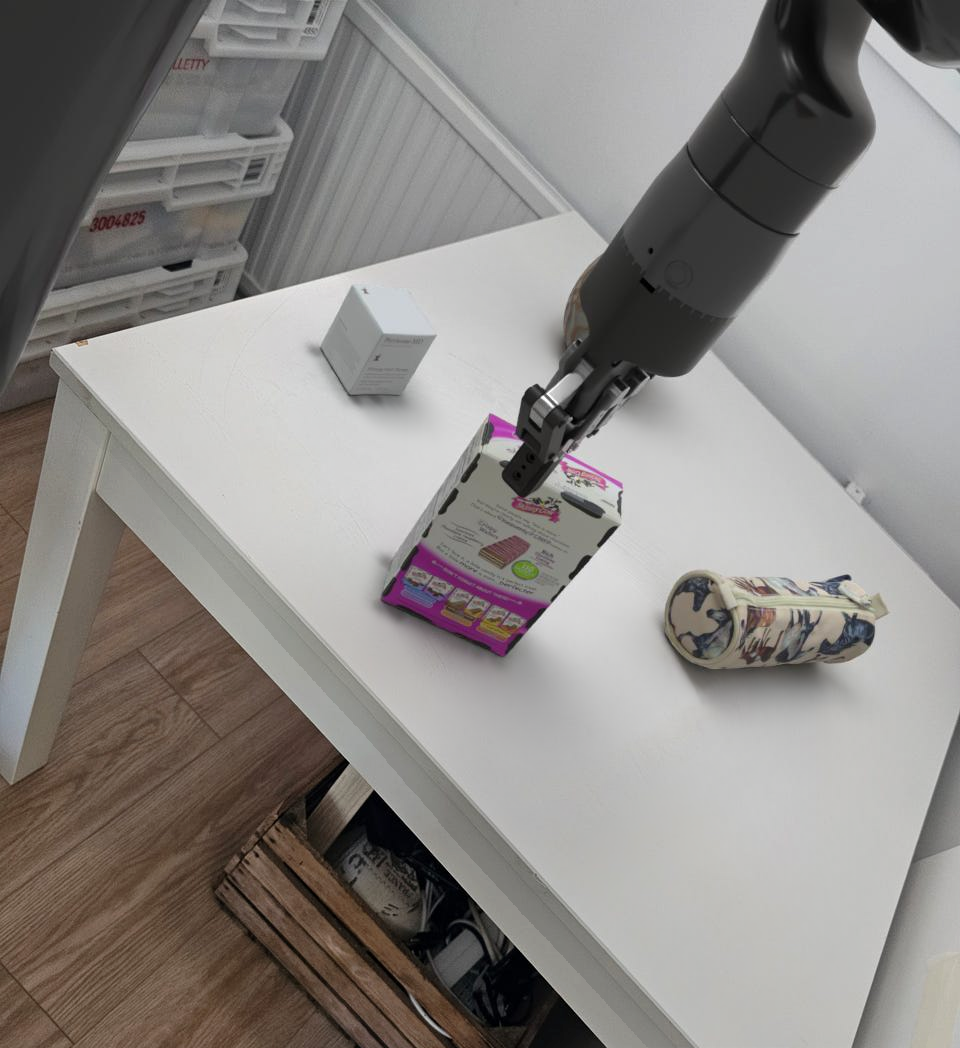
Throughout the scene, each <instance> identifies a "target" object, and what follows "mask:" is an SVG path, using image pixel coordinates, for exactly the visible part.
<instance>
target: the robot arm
mask: <svg viewBox="0 0 960 1048" xmlns="http://www.w3.org/2000/svg"><path fill="white" fill-rule="evenodd" d="M211 2H212V0H0V398H1V397H2V395H3V393H4V392H5V391H6V389H7V386H8V384H9V382H10V380H11V378H12V376H13V374H14V372H15V371H16V368H17V366H18V364H19V362H20V360H21V358H22V356H23V353H24V351H25V349H26V347H27V344H28V343H29V341H30V337H31V335H32V334H33V332H34V330H35V327H36V325H37V322H38V321H39V319H40V316H41V314H42V312H43V310H44V308H45V305H46V303H47V301H48V299H49V296H50V294H51V292H52V290H53V288H54V286H55V283H56V281H57V280H58V277H59V275H60V272H61V270H62V268H63V266H64V263H65V262H66V260H67V257H68V255H69V253H70V251H71V248H72V247H73V244H74V242H75V240H76V238H77V236H78V233H79V232H80V229H81V227H82V225H83V223H84V221H85V219H86V217H87V215H88V212H89V210H90V209H91V208H92V204H94V201H95V199H96V197H97V195H98V194H99V192H100V190H101V188H102V187H103V184H104V182H105V180H106V179H107V177H108V176H109V175H108V174H109V173H110V171H111V169H112V168H113V166H114V165H115V163H116V161H117V160H118V158H119V156H120V154H121V153H122V151H123V149H124V148H125V145H126V144H127V143H128V141H129V140H130V138H131V136H132V134H133V133H134V131H136V128H137V126H138V125H139V124H140V122H141V120H142V118H143V116H144V115H145V113H146V112H147V110H148V109H149V107H150V105H151V103H152V102H153V100H154V99H155V97H156V95H157V94H158V92H159V90H160V89H161V87H162V85H163V83H164V82H165V80H166V78H167V77H168V75H170V72H171V71H172V69H173V67H174V65H175V64H176V62H177V60H178V58H179V57H180V55H181V54H182V52H183V50H184V49H185V48H186V45H187V43H188V41H189V40H190V39H191V36H192V34H193V33H194V31H195V30H196V27H197V26H198V24H199V22H200V21H201V19H202V17H203V15H205V12H206V11H207V9H208V7H209V6H210V4H211ZM873 20H874V21H875V22H876V23H877V24H878V25H879V26H880V27H881V28H882V29H883V31H884V32H885V33H886V34H887V35H888V36H889V38H891V39H892V41H893V42H894V43H895V44H896V45H897V46H898V47H899V48H900V49H901V50H902V51H903V52H904V53H906V54H907V55H909V56H910V57H911V58H912V59H914V60H916V61H917V62H918V63H922V64H924V65H926V66H928V67H932V68H935V69H941V70H957V69H960V0H766V1H765V3H764V5H763V8H762V10H761V12H760V14H759V17H758V20H757V23H756V25H755V28H754V31H753V33H752V36H751V39H750V42H749V43H748V47H747V49H746V52H745V54H744V57H743V58H742V61H741V62H740V65H739V66H738V69H736V71H735V72H734V74H733V76H732V77H731V78H730V80H729V81H728V82H727V84H726V85H725V86H724V87H723V89H722V90H721V91H720V93H719V94H718V96H717V97H716V99H715V100H714V102H713V103H712V105H711V106H709V107H710V108H709V109H708V110H707V111H706V113H705V114H704V115H703V117H702V119H701V120H700V122H699V123H698V125H697V126H696V127H695V129H694V131H693V132H692V133H691V135H690V136H689V138H688V140H687V141H686V142H685V143H684V144H683V146H682V147H681V149H680V150H679V151H678V152H677V153H676V154H675V156H673V158H672V159H670V161H669V162H668V163H667V164H666V165H665V167H663V169H662V170H660V172H659V173H658V174H657V176H656V177H655V178H654V179H653V180H652V182H651V184H650V185H649V186H648V188H647V189H646V191H645V192H644V193H643V195H642V196H641V198H640V199H639V201H638V202H637V204H636V205H635V206H634V208H633V209H632V211H631V212H630V214H629V216H627V218H626V219H625V221H624V223H623V224H622V226H621V227H620V229H619V230H618V231H617V232H616V233H615V236H614V237H613V239H611V241H610V243H609V245H608V246H607V247H606V249H605V250H604V251H603V253H602V254H603V255H602V256H601V257H600V259H599V260H598V262H597V263H596V265H595V266H594V268H593V269H592V270H591V272H590V273H589V275H588V276H587V278H586V279H585V281H584V282H583V284H582V286H581V290H580V304H581V308H582V311H583V313H584V314H585V317H586V320H587V323H588V327H589V335H588V338H586V339H584V341H582V340H581V339H580V338H578V339H576V340H575V341H574V342H573V343H572V344H571V345H570V346H569V347H568V348H567V347H566V350H565V351H564V352H563V354H562V356H561V357H560V359H559V361H558V369H557V370H556V372H555V374H554V375H553V376H552V378H551V379H550V381H549V382H548V384H547V385H546V386H545V388H544V387H543V386H541V385H540V384H539V383H534V384H532V385H531V386H529V387H528V388H526V390H525V391H524V393H523V395H522V397H521V399H520V405H519V409H518V415H517V420H516V425H515V426H516V431H515V435H516V436H517V437H518V438H519V439H520V440H522V441H523V442H524V443H523V444H522V445H521V447H520V448H519V449H518V451H517V452H516V453H515V455H514V456H513V458H512V459H511V460H510V462H509V463H508V464H507V466H506V467H505V468H504V470H503V471H502V479H503V480H504V482H505V483H506V484H507V485H508V486H509V487H510V488H511V489H512V490H513V491H514V492H515V493H516V494H517V495H518V496H519V497H522V498H525V497H527V496H528V495H530V494H532V493H533V492H535V491H537V490H538V489H539V488H540V487H541V486H542V484H543V483H544V482H545V481H546V479H547V478H548V477H549V475H550V474H551V473H552V472H553V470H554V469H555V468H556V467H557V465H558V464H559V463H560V462H561V460H562V459H563V458H564V456H565V455H566V453H567V454H569V455H570V454H571V453H572V452H575V451H577V450H578V448H579V447H580V446H581V445H580V444H581V443H582V442H583V440H584V439H585V438H586V439H590V438H591V437H592V436H593V437H595V436H596V435H598V433H599V431H600V429H601V428H602V427H605V426H606V425H607V424H608V423H609V422H610V420H611V419H612V418H613V417H614V416H615V415H616V413H617V412H618V411H619V410H620V409H621V408H623V406H625V404H626V403H628V402H629V401H630V399H632V398H633V396H635V395H637V394H638V393H640V392H641V390H642V389H643V387H644V386H645V385H646V384H647V383H648V382H649V381H652V380H653V379H654V378H655V377H656V376H658V377H663V378H679V377H682V376H685V375H687V374H689V373H690V372H692V371H693V370H694V368H695V367H696V366H697V365H698V364H699V363H700V361H701V360H702V359H703V358H704V357H705V355H706V354H707V353H708V352H709V350H710V349H711V348H712V347H713V346H714V344H716V342H717V341H718V340H719V339H720V337H722V335H723V334H724V333H725V332H726V331H727V329H729V327H730V326H731V325H732V323H733V322H734V321H735V320H736V319H737V318H738V316H739V315H740V314H741V312H742V311H743V310H745V308H746V307H747V305H748V304H749V303H750V302H751V301H752V300H753V298H755V296H756V294H757V293H758V292H759V291H760V290H761V289H762V288H763V286H764V285H765V284H766V283H767V282H768V281H769V279H770V278H771V277H772V275H773V274H774V273H775V271H776V270H777V269H778V267H779V265H780V264H781V262H782V261H783V260H784V258H785V256H786V254H787V253H788V251H789V250H790V248H791V247H792V245H793V244H794V243H795V241H796V240H797V238H798V237H799V236H800V234H801V233H802V231H804V229H805V228H806V227H807V226H808V225H809V223H810V222H811V221H812V220H813V218H814V217H815V216H816V215H817V213H818V212H819V211H820V210H821V209H822V208H823V206H824V205H825V204H826V203H827V202H828V200H829V199H830V198H831V197H832V195H833V194H834V193H835V192H836V191H837V190H838V188H839V187H840V186H841V185H843V183H844V182H845V180H846V179H848V177H849V176H850V175H851V173H852V172H853V171H854V170H855V168H856V167H857V166H858V164H859V163H860V162H861V161H862V159H863V158H864V156H865V155H866V153H867V152H868V151H869V148H871V145H872V144H873V141H874V139H875V136H876V133H877V132H876V131H877V120H876V116H875V113H874V110H873V107H872V104H871V101H870V98H869V97H868V95H867V92H866V89H865V87H864V84H863V82H862V78H861V76H860V70H859V69H860V67H859V56H860V53H861V51H862V48H863V44H864V42H865V39H866V36H867V35H868V32H869V29H870V27H871V24H872V21H873Z"/></svg>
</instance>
